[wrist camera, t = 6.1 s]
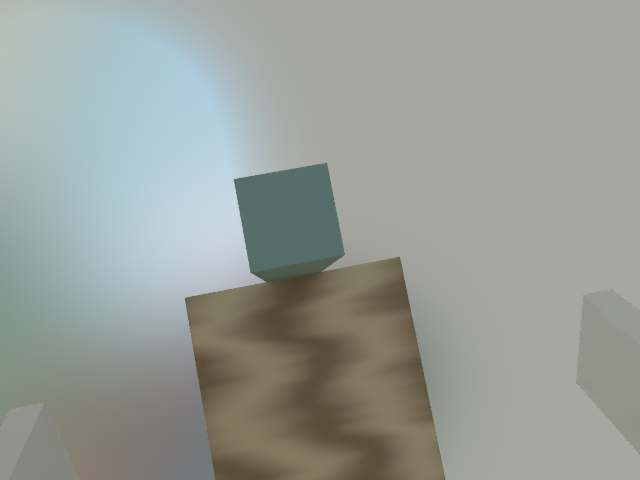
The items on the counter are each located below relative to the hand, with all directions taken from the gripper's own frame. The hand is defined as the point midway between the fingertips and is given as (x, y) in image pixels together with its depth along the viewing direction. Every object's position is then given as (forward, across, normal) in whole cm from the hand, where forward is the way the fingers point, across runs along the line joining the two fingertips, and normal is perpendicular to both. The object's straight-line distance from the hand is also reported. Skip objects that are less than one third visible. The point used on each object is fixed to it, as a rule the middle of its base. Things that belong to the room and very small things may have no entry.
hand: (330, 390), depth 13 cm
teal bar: (+18, 0, -6) cm, 19 cm away
